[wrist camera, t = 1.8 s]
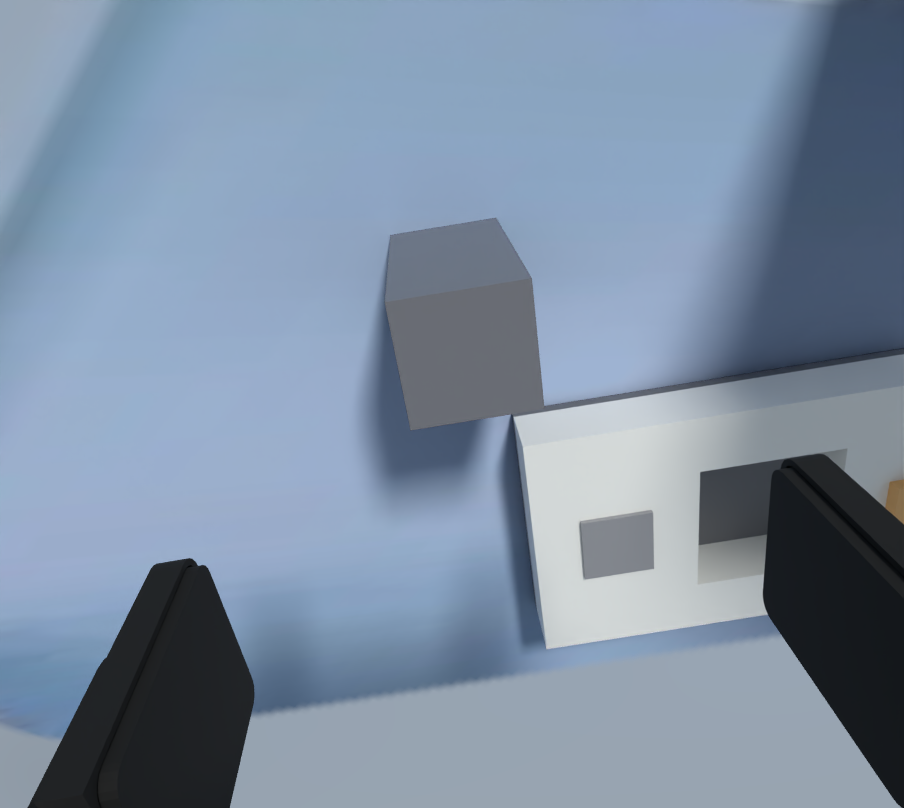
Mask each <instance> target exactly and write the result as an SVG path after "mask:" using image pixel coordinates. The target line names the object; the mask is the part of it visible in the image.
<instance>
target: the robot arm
mask: <svg viewBox="0 0 904 808" xmlns="http://www.w3.org/2000/svg"><path fill="white" fill-rule="evenodd" d="M763 602H764V606H765V609H766V611H767V614H768V615H769V617H770V619H771V620H772V622H773V623H774V625H775V626H776V628H777V629H778V631H779V632H780V634H781V635H782V636H783V638H784V639H785V641H786V642H787V644H788V645H789V647H790V648H791V650H792V651H793V653H794V654H795V655H796V657H797V658H798V660H799V661H800V663H801V664H802V666H803V667H804V669H805V670H806V671H807V673H808V674H809V676H810V677H811V679H812V680H813V682H814V683H815V685H816V686H817V687H818V689H819V691H820V692H821V694H822V695H823V696H824V698H825V699H826V701H827V702H828V704H829V705H830V707H831V708H832V709H833V711H834V713H835V714H836V716H837V717H838V718H839V720H840V721H841V723H842V724H843V726H844V727H845V729H846V730H847V732H848V733H849V734H850V736H851V737H852V739H853V740H854V742H855V743H856V745H857V746H858V748H859V749H860V751H861V752H862V754H863V755H864V757H865V758H866V759H867V761H868V762H869V764H870V765H871V767H872V768H873V770H874V771H875V773H876V774H877V775H878V777H879V778H880V780H881V781H882V783H883V784H884V786H885V787H886V789H887V790H888V791H889V793H890V794H891V796H892V797H893V799H894V800H895V801H896V803H897V804H898V805H900V806H901V807H902V808H904V524H903V523H902V522H901V521H899V520H898V519H897V518H896V517H895V516H894V515H893V514H892V513H890V512H889V511H888V510H887V509H886V508H885V507H884V506H883V505H881V504H880V503H879V502H878V501H877V500H876V499H875V498H874V497H872V496H871V495H870V494H869V493H868V492H867V491H866V490H865V489H864V488H862V487H861V486H860V485H859V484H858V483H857V482H856V481H855V480H853V479H852V478H851V477H850V476H849V475H848V474H847V473H846V472H844V471H843V470H842V469H841V468H840V467H839V466H838V465H837V464H835V463H834V462H833V461H832V460H831V459H830V458H829V457H827V456H826V455H824V454H814V455H808V456H802V457H796V458H790V459H786V460H784V461H783V463H782V464H781V468H780V469H778V470H775V471H774V472H773V474H772V478H771V489H770V502H769V516H768V529H767V542H766V555H765V569H764V582H763ZM253 703H254V684H253V680H252V677H251V674H250V672H249V669H248V667H247V664H246V662H245V659H244V657H243V654H242V652H241V649H240V647H239V644H238V642H237V639H236V637H235V634H234V632H233V629H232V627H231V624H230V622H229V619H228V617H227V614H226V612H225V609H224V607H223V604H222V602H221V599H220V597H219V594H218V592H217V589H216V587H215V584H214V582H213V579H212V577H211V574H210V572H209V570H208V568H207V567H206V566H204V565H201V566H198V565H197V563H196V562H195V561H194V560H193V559H190V558H188V559H182V560H176V561H170V562H164V563H158V564H156V565H154V566H153V567H152V568H151V570H150V572H149V574H148V576H147V578H146V580H145V582H144V584H143V586H142V588H141V590H140V592H139V594H138V596H137V598H136V600H135V602H134V604H133V606H132V608H131V610H130V612H129V614H128V616H127V618H126V620H125V622H124V624H123V626H122V628H121V630H120V632H119V634H118V636H117V638H116V640H115V642H114V644H113V646H112V648H111V650H110V652H109V654H108V656H107V658H105V659H104V660H103V662H102V663H101V665H100V666H99V668H98V669H97V671H96V673H95V675H94V677H93V679H92V681H91V683H90V685H89V687H88V689H87V691H86V693H85V695H84V697H83V699H82V701H81V703H80V705H79V707H78V709H77V711H76V713H75V715H74V717H73V719H72V721H71V723H70V725H69V727H68V729H67V731H66V733H65V735H64V737H63V739H62V741H61V743H60V745H59V747H58V749H57V751H56V753H55V755H54V757H53V759H52V760H51V762H50V764H49V766H48V769H47V770H46V772H45V774H44V777H43V778H42V781H41V782H40V784H39V786H38V788H37V791H36V792H35V794H34V796H33V798H32V800H31V802H30V804H29V806H28V808H230V803H231V799H232V795H233V791H234V786H235V782H236V778H237V773H238V769H239V765H240V760H241V756H242V751H243V747H244V743H245V738H246V734H247V730H248V725H249V721H250V717H251V712H252V708H253Z"/></svg>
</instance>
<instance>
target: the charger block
mask: <svg viewBox="0 0 904 808" xmlns="http://www.w3.org/2000/svg"><path fill="white" fill-rule="evenodd" d="M385 307H386V312H387V316H388V321H389V326H390V331H391V336H392V341H393V346H394V351H395V356H396V361H397V366H398V371H399V376H400V381H401V386H402V390H403V395H404V400H405V405H406V410H407V415H408V420H409V425H410V430H416V429H423V428H429V427H435V426H441V425H447V424H454V423H460V422H466V421H472V420H479V419H485V418H491V417H497V416H504V415H510V414H516V413H522V412H529V411H535V410H541V409H544V400H543V389H542V379H541V368H540V358H539V348H538V337H537V327H536V317H535V306H534V296H533V286H532V278H531V276H530V274H529V273H528V271H527V269H526V268H525V266H524V264H523V263H522V261H521V259H520V257H519V256H518V254H517V252H516V251H515V249H514V247H513V246H512V244H511V242H510V241H509V239H508V237H507V236H506V234H505V232H504V230H503V229H502V227H501V225H500V224H499V222H498V220H497V219H496V218H492V219H486V220H480V221H474V222H468V223H461V224H455V225H449V226H443V227H437V228H431V229H425V230H419V231H413V232H407V233H400V234H394V235H390V247H389V258H388V269H387V281H386V292H385Z"/></svg>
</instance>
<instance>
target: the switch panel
mask: <svg viewBox="0 0 904 808" xmlns="http://www.w3.org/2000/svg"><path fill="white" fill-rule="evenodd" d="M512 416H513V424H514V433H515V441H516V449H517V457H518V465H519V473H520V482H521V490H522V498H523V506H524V514H525V522H526V531H527V539H528V547H529V555H530V563H531V572H532V580H533V588H534V596H535V604H536V608H537V612H538V616H539V620H540V624H541V629H542V633H543V637H544V641H545V645H546V649H552V648H558V647H564V646H571V645H577V644H584V643H590V642H596V641H603V640H609V639H615V638H622V637H628V636H635V635H641V634H647V633H654V632H660V631H666V630H673V629H679V628H686V627H692V626H698V625H705V624H711V623H718V622H724V621H730V620H737V619H743V618H749V617H756V616H762V615H768V614H767V611H766V609H765V606H764V602H763V582H764V569H765V555H766V542H767V529H768V516H769V502H770V489H771V478H772V474H773V472H774V471H775V470H778V469H780V468H781V464H782V463H783V461H784V460H786V459H790V458H796V457H802V456H808V455H814V454H824V455H826V456H827V457H829V458H830V459H831V460H832V461H833V462H834V463H835V464H837V465H838V466H839V467H840V468H841V469H842V470H843V471H844V472H846V473H847V474H848V475H849V476H850V477H851V478H852V479H853V480H855V481H856V482H857V483H858V484H859V485H860V486H861V487H862V488H864V489H865V490H866V491H867V492H868V493H869V494H870V495H871V496H872V497H874V498H875V499H876V500H877V501H878V502H879V503H880V504H881V505H883V506H884V507H885V508H886V509H887V510H888V511H889V512H890V513H892V514H893V515H894V516H895V517H896V518H897V519H898V520H899V521H901V522H902V523H903V524H904V348H903V349H897V350H891V351H885V352H878V353H872V354H866V355H860V356H854V357H847V358H841V359H835V360H829V361H822V362H816V363H810V364H804V365H798V366H791V367H785V368H779V369H773V370H767V371H760V372H754V373H748V374H742V375H735V376H729V377H723V378H717V379H711V380H704V381H698V382H692V383H686V384H680V385H673V386H667V387H661V388H655V389H648V390H642V391H636V392H630V393H624V394H617V395H611V396H605V397H599V398H593V399H586V400H580V401H574V402H568V403H561V404H555V405H549V406H544V409H541V410H535V411H529V412H522V413H516V414H512Z"/></svg>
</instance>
